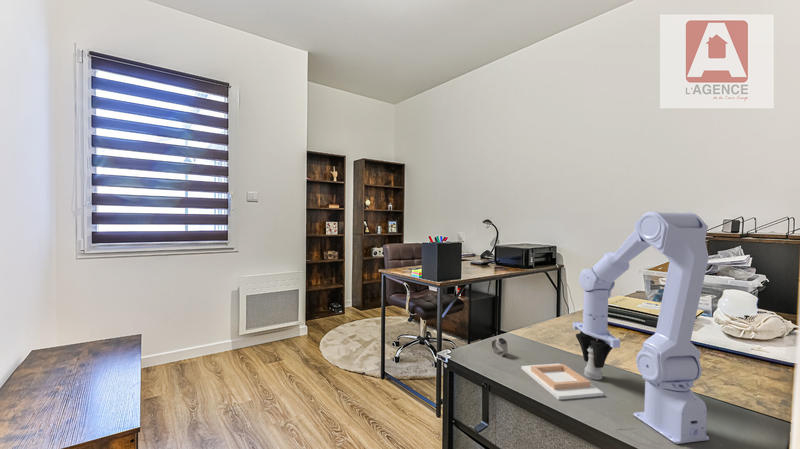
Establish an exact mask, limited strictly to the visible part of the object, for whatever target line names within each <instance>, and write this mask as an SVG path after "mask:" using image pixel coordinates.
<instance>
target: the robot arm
mask: <svg viewBox="0 0 800 449" xmlns="http://www.w3.org/2000/svg"><path fill="white" fill-rule="evenodd" d="M708 228H709V226H708V225H707V223H705V222H704V220H702V218H701V217H700V216H698V214H696V213H694V212H693V213H692V212H689V211H688V212H659V211H658V212H657V211H647V212H645V213H644V214H642V216H640V218H639V219H638V220H637V221H635V222H634V230H633V232H631V233H630V235H629V236H628V237H627V238H626V240H625V241H623V243H622V244H621V245H620V247H619V248H618V249H617V250H616V251H607V252H604V253H603V257H602V258H600V260H598V262H596V263H595V264H593V267H590V268H583V269H582V270H581V271H580V274H579V277H578V283H579V285H580V287H581V289H582V290H583V300H582V301H583V305H582V306H583V308H582V322H580V321H572V329H573V330H577V331H580V332H579V333H576V334H575V338H576V339H577V341H578V343H579V346H580V349H581V353H582V356H583V360H584V362H587V363H588V359H589V356H588V354H589V352H588V350H587V349H588V348H589V346H590V347H591V346H592V349H593V354H594V366H595V367H596V368H604V366H605V363H606V360H607V358H608V355H609V353H610V352H611V351H612V349H616V348H619V349H620V347H621V339H620V338H617V337H616V336H614V335H613V334H612V333H611V332H610V331H611V330H609V329H608V321H609V320H608V319H609V316H608V315H609V298H611V295H612V290H613V289H614V287H615V285H616V284H615V283H616V282H615V281H616V280H617V279H619V278H620V277H621V276H622V275H623V274H625V272H626V271H628V270H629V269H630V261H632V260H633V259H635V258H636V257H637V256H638V255H641V254H642V252H644V251H646V250H647V249H648V248H649V247H651V246H652V247H653V248H654V249H656V250H657V251H658V252H659V253H661V254H662V255H664V256H665V258H667V260H668V261H669V263H668V267H667V268H668V269H667V273H666V278H665V283H664V287H663V288H664V289H663V293H662V298H661V303H660V304H661V305H660V307H659V308H660V309H659V312H658V319H657V323H656V329H655V333H654V334H652V335H651V336H650V337H648V338H647V339H646V340H643V341H644V342H643V344H642V348H641V349H640V350H639V352H638V353H637V354H636V357H635V364H636V368H637V371H638V372H639V374H640V375H641V376H642V379H644V380H645V382H644V404H643V405H644V406H643V407H644V408H643V409H644V410H643V411H638V412H637V411H636V412H633V414H632V415H633V416H634V417H636V418H637V419H638V420H640V421H641V422H643V423H644V424H646V425H647V426H649V427H650V428H652V429H654V431H656V432H657V433H659V434H661V435H662V436H664V438H666V439H668V440H669V441H671V442H672V443H674V444H677V445H678V444H686V443H688V444H689V443H693V442H694V443H695V442H703V441H709V440H710V437H709V436H708V435H707V418H708V409H707V403H705V401H704V400H703V399H702V398H701V397H699V396H698V395H696V394H695V393H694V392H693V391H692V389H691V388H693V387H694V382H696V381H698V380H699V379H700V378H701V376H702V371H703V369H702V365H701V361H700V360H701V359H700V357H701V351H700V350H699V348H698V347H697V346H695V345H694V344H693V343H692V342H691V340H692V336H693V332H694V326H695V324H696V319H697V318H696V317H697V313H698V308H699V305H700V304H699V303H700V300H701V295H702V290H703V285H704V280H705V276H706V273H707V266H708V262H709V252H708V248H707V243H706V238H707V233H708Z"/></svg>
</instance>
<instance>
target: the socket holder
mask: <svg viewBox="0 0 800 449" xmlns="http://www.w3.org/2000/svg"><path fill="white" fill-rule="evenodd" d="M520 368H521V370H522V371H523V372H525V373H526V374H527V375H528V376H529V377H531V378H532V379H533V380H534V381H535V382H537V383H538V384H539V385H540V386H541V387H543V388H544V389H545V390H546V391H547V392H548V393H550V395H552V396H553V397H554V398H556V399H557V400H559V401H560V400H573V399H582V398H593V397H604V392H603V391H602V390H601V389H599V388H597V387H596V386H594V385H593V384H592V383H591V381H590V380H588V379H587V377H584V376H583V375H581V374H579V373H578V372H576V371H575V370H573V369H572V368H571V367H569V366H568V365H566V364H565V363H549V364H547V363H546V364H544V363H543V364H532V365H531V364H530V365H521V367H520Z"/></svg>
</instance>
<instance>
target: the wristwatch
mask: <svg viewBox="0 0 800 449" xmlns="http://www.w3.org/2000/svg"><path fill="white" fill-rule="evenodd" d="M490 343H491V348H492V350H493V352H494V353H495V354H497V355H498V356H500V355H501V356H500V357H505V356H507V354H508V352H509V351H508V341H507V340H506V339H505V338H504V337H496V338H494V339H493V340H491V342H490ZM496 344H497V345H498V346H499V347H500V348H501V349H502V351H501V350H500V349H499V348H498V347H497V345H496Z"/></svg>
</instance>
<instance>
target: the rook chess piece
mask: <svg viewBox="0 0 800 449" xmlns="http://www.w3.org/2000/svg"><path fill="white" fill-rule="evenodd" d="M587 350H588V352H589V354H588V356H589V359H588V362H587V365H586V366H585V367H584V372H583V375H584V376H585V378H588V379H591V380H595V381H600V380H602V379H603V375H604V374H603V371H602V369H601V368H596V367H595V366H594V354H593V349H592V346H591V347H590V346H589V348H588V349H587Z"/></svg>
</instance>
